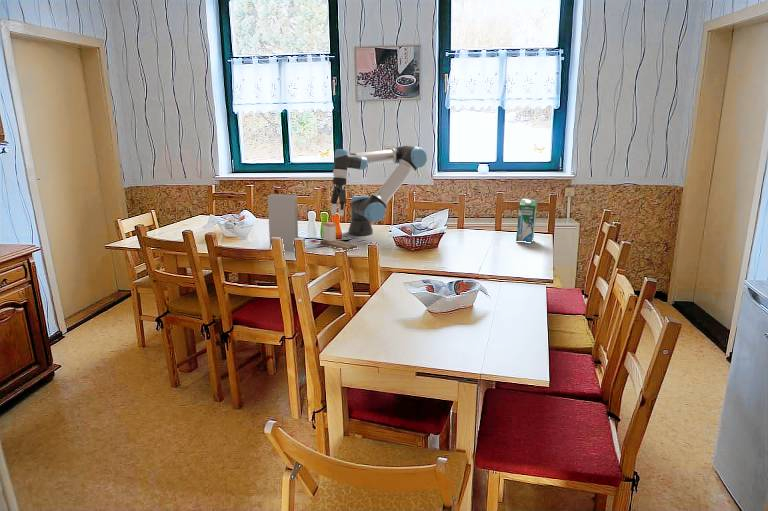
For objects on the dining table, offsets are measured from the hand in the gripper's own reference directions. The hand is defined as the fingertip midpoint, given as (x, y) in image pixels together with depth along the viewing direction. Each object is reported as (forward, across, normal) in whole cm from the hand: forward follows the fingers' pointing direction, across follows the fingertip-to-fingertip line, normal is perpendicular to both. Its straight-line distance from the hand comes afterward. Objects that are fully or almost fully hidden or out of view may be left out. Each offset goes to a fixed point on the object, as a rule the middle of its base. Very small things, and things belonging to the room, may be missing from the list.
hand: (337, 215), depth 286 cm
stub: (+14, -4, -2) cm, 15 cm away
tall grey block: (+21, 0, -28) cm, 35 cm away
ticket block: (+17, +2, +1) cm, 17 cm away
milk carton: (+7, +28, +109) cm, 113 cm away
